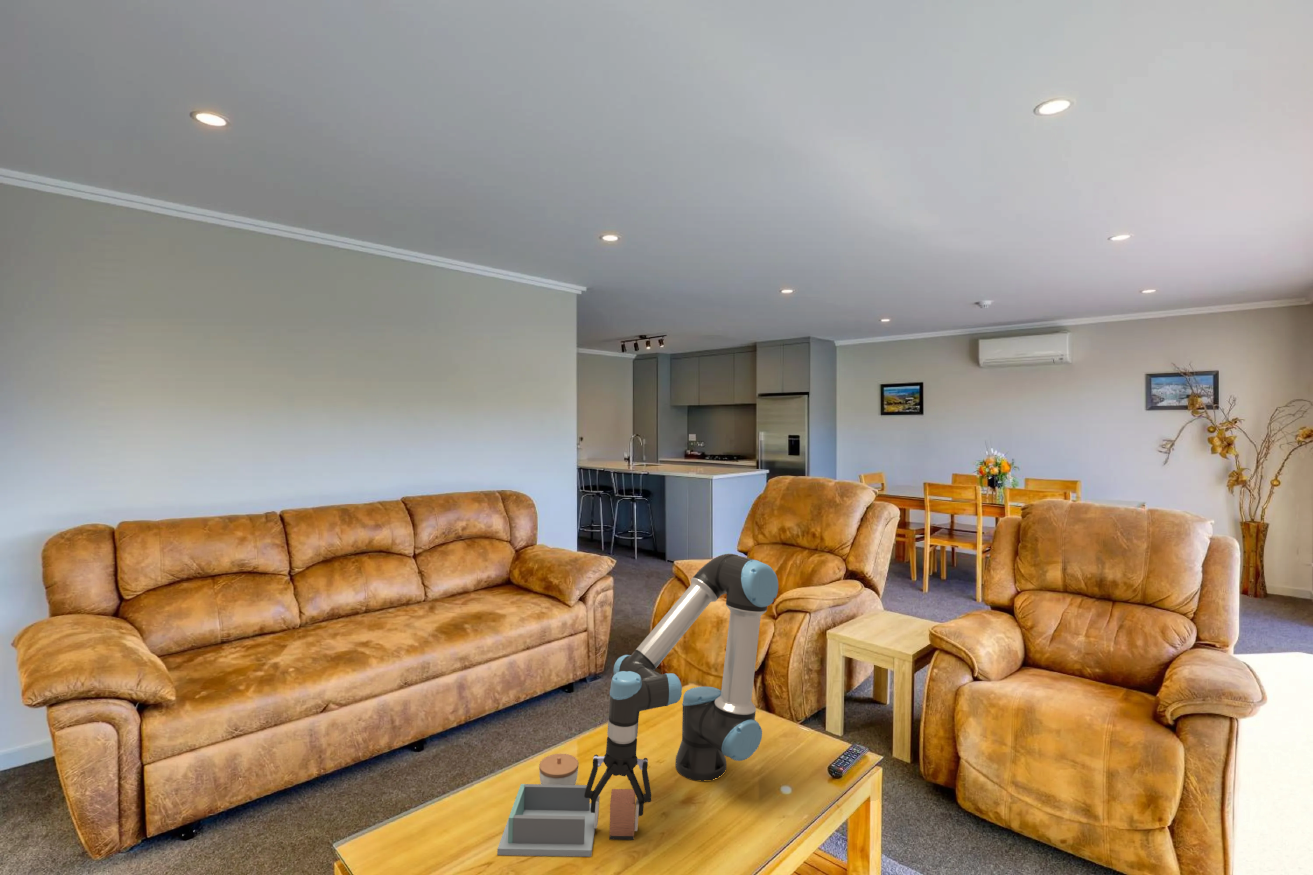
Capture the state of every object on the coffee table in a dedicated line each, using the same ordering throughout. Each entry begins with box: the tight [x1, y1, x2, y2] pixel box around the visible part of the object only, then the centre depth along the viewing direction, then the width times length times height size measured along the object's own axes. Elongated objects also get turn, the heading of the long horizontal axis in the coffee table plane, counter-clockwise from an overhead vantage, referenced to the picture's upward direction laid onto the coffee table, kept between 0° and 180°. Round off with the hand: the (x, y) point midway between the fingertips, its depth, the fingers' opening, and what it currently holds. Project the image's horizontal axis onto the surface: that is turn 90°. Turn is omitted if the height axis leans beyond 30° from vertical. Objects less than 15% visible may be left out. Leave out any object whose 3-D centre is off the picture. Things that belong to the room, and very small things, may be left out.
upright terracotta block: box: [608, 788, 636, 841], centre depth 153 cm, size 6×6×9 cm
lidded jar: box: [538, 753, 579, 785], centre depth 169 cm, size 11×11×9 cm
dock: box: [496, 783, 596, 858], centre depth 152 cm, size 22×18×8 cm
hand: (615, 825), depth 153 cm, fingers open, 9 cm apart
